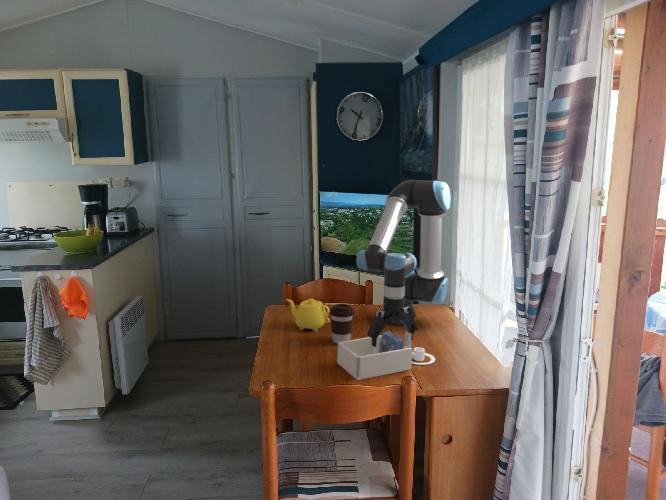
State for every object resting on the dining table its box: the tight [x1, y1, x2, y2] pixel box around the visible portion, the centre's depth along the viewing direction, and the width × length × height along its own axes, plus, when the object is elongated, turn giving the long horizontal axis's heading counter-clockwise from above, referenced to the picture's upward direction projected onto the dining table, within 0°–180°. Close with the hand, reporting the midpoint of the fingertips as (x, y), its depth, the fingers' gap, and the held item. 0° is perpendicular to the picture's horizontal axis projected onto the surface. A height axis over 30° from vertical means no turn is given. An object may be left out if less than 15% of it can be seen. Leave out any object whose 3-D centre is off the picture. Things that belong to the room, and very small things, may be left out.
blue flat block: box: [381, 331, 405, 353], centre depth 202 cm, size 3×10×9 cm, turn 25°
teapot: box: [285, 298, 331, 333], centre depth 239 cm, size 14×20×13 cm
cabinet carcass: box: [336, 334, 413, 381], centre depth 199 cm, size 22×16×8 cm
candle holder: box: [412, 347, 436, 366], centre depth 207 cm, size 12×12×4 cm
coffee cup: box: [329, 303, 355, 344], centre depth 222 cm, size 10×10×15 cm
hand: (392, 351), depth 202 cm, fingers open, 13 cm apart
